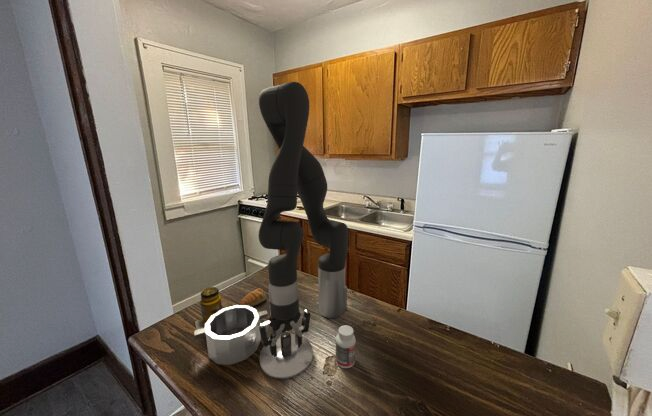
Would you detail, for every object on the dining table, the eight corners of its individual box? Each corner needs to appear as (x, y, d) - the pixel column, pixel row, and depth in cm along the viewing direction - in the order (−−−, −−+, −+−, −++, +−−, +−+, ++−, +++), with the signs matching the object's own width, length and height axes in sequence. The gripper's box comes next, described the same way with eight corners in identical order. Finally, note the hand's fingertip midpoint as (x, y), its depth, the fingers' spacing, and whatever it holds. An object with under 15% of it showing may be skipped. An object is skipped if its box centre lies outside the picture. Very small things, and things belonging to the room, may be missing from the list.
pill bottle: (352, 371, 65) (353, 339, 63) (333, 366, 67) (333, 334, 64) (356, 355, 70) (357, 325, 68) (338, 351, 72) (338, 321, 69)
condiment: (226, 325, 82) (223, 292, 79) (197, 335, 78) (193, 301, 75) (221, 313, 88) (218, 282, 85) (194, 322, 84) (190, 290, 81)
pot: (262, 319, 85) (261, 298, 83) (274, 349, 72) (273, 325, 70) (197, 339, 76) (194, 316, 74) (198, 376, 64) (194, 350, 62)
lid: (301, 333, 79) (300, 312, 77) (321, 368, 66) (321, 344, 64) (254, 350, 72) (253, 327, 70) (267, 392, 60) (265, 366, 58)
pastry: (247, 311, 89) (246, 302, 88) (236, 304, 93) (235, 295, 92) (268, 299, 96) (267, 290, 95) (257, 293, 100) (256, 285, 100)
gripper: (304, 282, 71) (305, 332, 75) (252, 295, 65) (256, 350, 69) (315, 295, 64) (316, 350, 68) (259, 311, 58) (263, 371, 62)
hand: (286, 349), depth 68 cm, fingers open, 6 cm apart
